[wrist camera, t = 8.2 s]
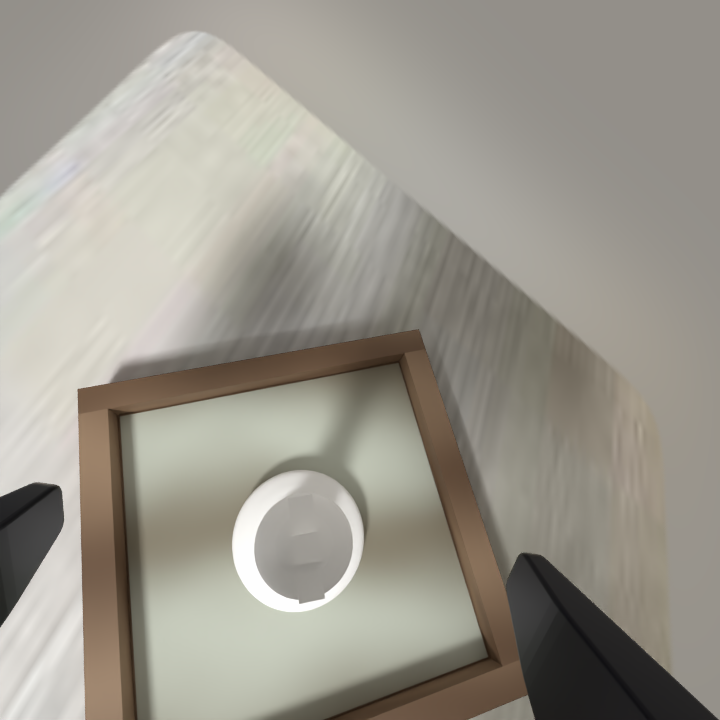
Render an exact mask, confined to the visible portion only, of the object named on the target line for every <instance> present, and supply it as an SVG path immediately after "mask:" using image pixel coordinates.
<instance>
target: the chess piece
mask: <svg viewBox="0 0 720 720" xmlns="http://www.w3.org/2000/svg"><path fill="white" fill-rule="evenodd" d="M363 546H364V528H363V522H362V518H361V514H360V512H359V509H358V507H357V505H356V503H355V501H354V499H353V498H352V496H351V495H350V494H349V492H348V491H347V490H346V489H345V488H344V487H343V486H342V485H341V484H340V483H338V482H337V481H336V480H334V479H333V478H331V477H329V476H327V475H325V474H322V473H319V472H315V471H310V470H294V471H288V472H284V473H281V474H278V475H276V476H274V477H272V478H270V479H268V480H267V481H265V482H264V483H262V484H261V485H260V486H259V487H258V488H256V489H255V490H254V491H253V492H252V494H251V495H250V496H249V497H248V498H247V500H246V501H245V503H244V504H243V506H242V508H241V510H240V512H239V514H238V516H237V519H236V522H235V526H234V530H233V537H232V553H233V560H234V564H235V567H236V570H237V573H238V575H239V577H240V579H241V581H242V583H243V584H244V586H245V587H246V588H247V590H248V591H249V592H250V593H251V594H252V595H253V596H254V597H255V598H256V599H257V600H259V601H260V602H262V603H263V604H265V605H267V606H269V607H271V608H274V609H277V610H280V611H285V612H303V611H309V610H312V609H315V608H318V607H320V606H322V605H324V604H326V603H328V602H330V601H331V600H333V599H334V598H335V597H336V596H338V595H339V594H340V593H341V592H342V591H343V590H344V589H345V587H346V586H347V585H348V584H349V582H350V581H351V579H352V578H353V576H354V574H355V572H356V570H357V568H358V566H359V563H360V560H361V557H362V552H363Z"/></svg>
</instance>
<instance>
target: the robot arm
mask: <svg viewBox="0 0 720 720" xmlns="http://www.w3.org/2000/svg"><path fill="white" fill-rule="evenodd" d="M63 523H64V511H63V499H62V490H61V488H60V487H59V486H57V485H54V484H47V483H40V482H36V483H32V484H29V485H27V486H25V487H22V488H20V489H18V490H15V491H13V492H11V493H8V494H6V495H4V496H1V497H0V627H1V625H2V624H3V623H4V621H5V620H6V618H7V617H8V616H9V614H10V613H11V611H12V609H13V608H14V606H15V605H16V603H17V602H18V600H19V599H20V597H21V595H22V594H23V592H24V590H25V589H26V587H27V586H28V584H29V582H30V581H31V579H32V577H33V576H34V574H35V573H36V571H37V569H38V568H39V566H40V564H41V563H42V561H43V559H44V558H45V556H46V555H47V553H48V551H49V550H50V548H51V546H52V545H53V543H54V542H55V540H56V538H57V537H58V535H59V533H60V532H61V529H62V527H63ZM506 592H507V598H508V603H509V608H510V614H511V619H512V624H513V629H514V634H515V639H516V644H517V650H518V655H519V660H520V665H521V669H522V674H523V678H524V682H525V685H526V689H527V693H528V696H529V699H530V703H531V706H532V710H533V713H534V717H535V720H718V719H717V718H716V717H715V716H714V715H713V714H712V713H711V712H710V711H709V710H708V709H707V708H705V707H704V706H703V705H702V704H701V703H700V702H699V701H698V700H697V699H696V698H695V697H694V696H693V695H692V694H691V693H689V692H688V691H687V690H686V689H685V688H684V687H683V686H682V685H681V684H680V683H679V682H678V681H676V679H674V678H673V677H672V676H671V675H670V674H669V673H668V672H667V671H666V670H665V669H664V668H663V667H662V666H660V665H659V664H658V663H657V662H656V661H655V660H654V659H653V658H652V657H651V656H650V655H649V654H648V653H646V652H645V651H644V650H643V649H642V648H641V647H640V646H639V645H638V644H637V643H636V642H635V641H634V640H632V639H631V638H630V637H629V636H628V635H627V634H626V633H625V632H624V631H623V630H622V629H621V628H620V627H619V626H617V625H616V624H615V623H614V622H613V621H612V620H611V619H610V618H609V617H608V616H607V615H606V614H605V613H603V612H602V611H601V610H600V609H599V608H598V607H597V606H596V605H595V604H594V603H593V602H592V601H591V600H589V599H588V598H587V597H586V596H585V595H584V594H583V593H582V592H581V591H580V590H579V589H578V588H577V587H576V586H574V585H573V584H572V583H571V582H570V581H569V580H568V579H567V578H566V577H565V576H564V575H563V574H562V573H560V572H559V571H558V570H557V569H556V568H555V567H554V566H553V565H552V564H551V563H550V562H549V561H548V560H546V559H545V558H544V557H543V556H541V555H538V554H532V553H521V554H520V555H519V556H518V557H517V560H516V562H515V564H514V566H513V569H512V571H511V573H510V575H509V577H508V580H507V584H506Z"/></svg>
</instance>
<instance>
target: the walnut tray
mask: <svg viewBox="0 0 720 720" xmlns="http://www.w3.org/2000/svg"><path fill="white" fill-rule="evenodd" d="M78 422H79V465H80V507H81V550H82V593H83V636H84V679H85V720H468V719H470V718H473V717H475V716H478V715H480V714H482V713H485V712H487V711H490V710H492V709H494V708H497V707H499V706H502V705H504V704H506V703H509V702H511V701H514V700H516V699H518V698H521V697H523V696H526V695H528V693H527V689H526V685H525V682H524V678H523V674H522V669H521V665H520V660H519V655H518V650H517V644H516V639H515V634H514V629H513V624H512V619H511V614H510V608H509V603H508V598H507V593H506V590H505V587H504V584H503V581H502V578H501V575H500V572H499V569H498V566H497V563H496V560H495V557H494V554H493V551H492V548H491V545H490V542H489V539H488V536H487V533H486V530H485V527H484V524H483V521H482V518H481V515H480V512H479V509H478V506H477V503H476V500H475V497H474V494H473V491H472V488H471V485H470V482H469V479H468V476H467V473H466V470H465V466H464V463H463V460H462V457H461V454H460V451H459V448H458V445H457V442H456V439H455V436H454V433H453V430H452V427H451V424H450V421H449V418H448V415H447V412H446V409H445V406H444V403H443V400H442V397H441V394H440V391H439V388H438V385H437V382H436V379H435V376H434V373H433V370H432V367H431V364H430V361H429V358H428V355H427V352H426V349H425V346H424V343H423V340H422V337H421V334H420V331H419V329H418V330H412V331H407V332H401V333H395V334H389V335H384V336H378V337H372V338H367V339H361V340H355V341H349V342H344V343H338V344H332V345H327V346H321V347H315V348H310V349H304V350H298V351H292V352H287V353H281V354H275V355H270V356H264V357H258V358H252V359H247V360H241V361H235V362H230V363H224V364H218V365H213V366H207V367H201V368H195V369H190V370H184V371H178V372H173V373H167V374H161V375H155V376H150V377H144V378H138V379H133V380H127V381H121V382H116V383H110V384H104V385H98V386H93V387H87V388H81V389H78ZM294 470H310V471H315V472H319V473H322V474H325V475H327V476H329V477H331V478H333V479H334V480H336V481H337V482H338V483H340V484H341V485H342V486H343V487H344V488H345V489H346V490H347V491H348V492H349V494H350V495H351V496H352V498H353V499H354V501H355V503H356V505H357V507H358V509H359V512H360V514H361V518H362V522H363V528H364V546H363V552H362V557H361V560H360V563H359V566H358V568H357V570H356V572H355V574H354V576H353V578H352V579H351V581H350V582H349V584H348V585H347V586H346V587H345V589H344V590H343V591H342V592H341V593H340V594H339V595H338V596H336V597H335V598H334V599H333V600H331V601H330V602H328V603H326V604H324V605H322V606H320V607H318V608H315V609H312V610H309V611H303V612H285V611H280V610H277V609H274V608H271V607H269V606H267V605H265V604H263V603H262V602H260V601H259V600H257V599H256V598H255V597H254V596H253V595H252V594H251V593H250V592H249V591H248V590H247V588H246V587H245V586H244V584H243V583H242V581H241V579H240V577H239V575H238V573H237V570H236V567H235V564H234V560H233V553H232V537H233V530H234V526H235V522H236V519H237V516H238V514H239V512H240V510H241V508H242V506H243V504H244V503H245V501H246V500H247V498H248V497H249V496H250V495H251V494H252V492H253V491H254V490H255V489H256V488H258V487H259V486H260V485H261V484H262V483H264V482H265V481H267V480H268V479H270V478H272V477H274V476H276V475H278V474H281V473H284V472H288V471H294Z"/></svg>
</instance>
